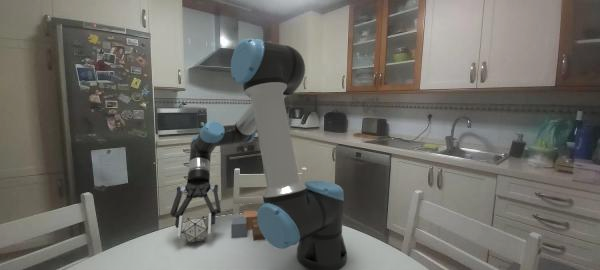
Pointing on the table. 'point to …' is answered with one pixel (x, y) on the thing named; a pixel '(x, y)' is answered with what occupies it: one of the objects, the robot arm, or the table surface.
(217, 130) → the robot arm
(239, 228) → the slate block
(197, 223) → the game die
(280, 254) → the table surface
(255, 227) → the walnut block
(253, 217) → the terracotta block
